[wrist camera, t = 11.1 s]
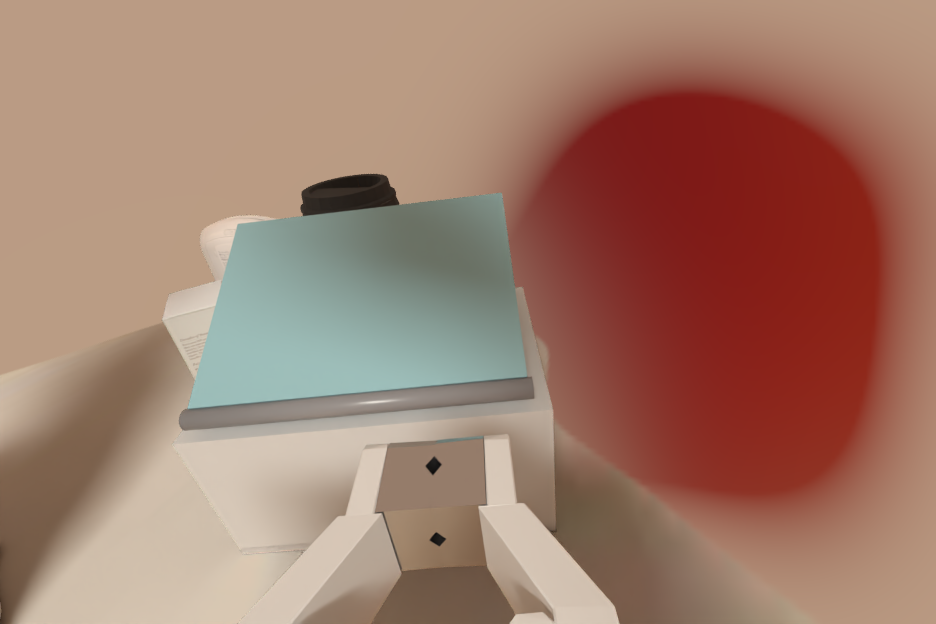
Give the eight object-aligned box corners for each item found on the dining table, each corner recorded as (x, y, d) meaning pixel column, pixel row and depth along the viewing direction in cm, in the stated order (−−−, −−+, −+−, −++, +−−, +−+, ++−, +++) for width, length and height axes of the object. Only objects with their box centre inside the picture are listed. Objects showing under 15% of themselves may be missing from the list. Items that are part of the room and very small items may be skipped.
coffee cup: (370, 308, 49) (334, 173, 42) (436, 315, 46) (411, 171, 39) (324, 351, 43) (272, 200, 35) (399, 362, 40) (359, 199, 32)
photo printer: (333, 315, 49) (299, 207, 43) (313, 336, 46) (273, 222, 39) (255, 313, 52) (213, 211, 46) (231, 333, 48) (181, 226, 42)
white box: (242, 554, 25) (171, 444, 21) (308, 407, 36) (270, 313, 31) (556, 530, 24) (553, 410, 20) (528, 387, 35) (522, 287, 30)
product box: (200, 355, 45) (167, 292, 41) (262, 335, 47) (236, 274, 43) (196, 387, 40) (159, 319, 37) (266, 364, 42) (237, 297, 39)
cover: (190, 433, 21) (176, 427, 20) (242, 234, 27) (233, 223, 26) (533, 401, 20) (534, 394, 19) (505, 203, 26) (505, 191, 25)
